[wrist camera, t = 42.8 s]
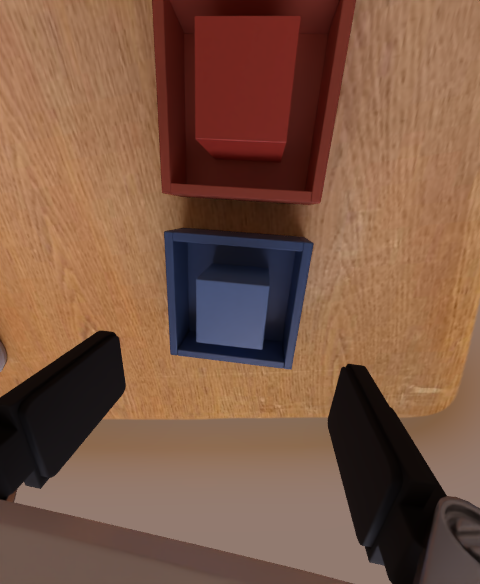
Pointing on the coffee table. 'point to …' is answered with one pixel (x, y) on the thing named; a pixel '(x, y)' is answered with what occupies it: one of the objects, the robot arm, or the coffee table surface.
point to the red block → (244, 84)
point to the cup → (2, 356)
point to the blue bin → (243, 252)
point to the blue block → (232, 305)
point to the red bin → (303, 112)
